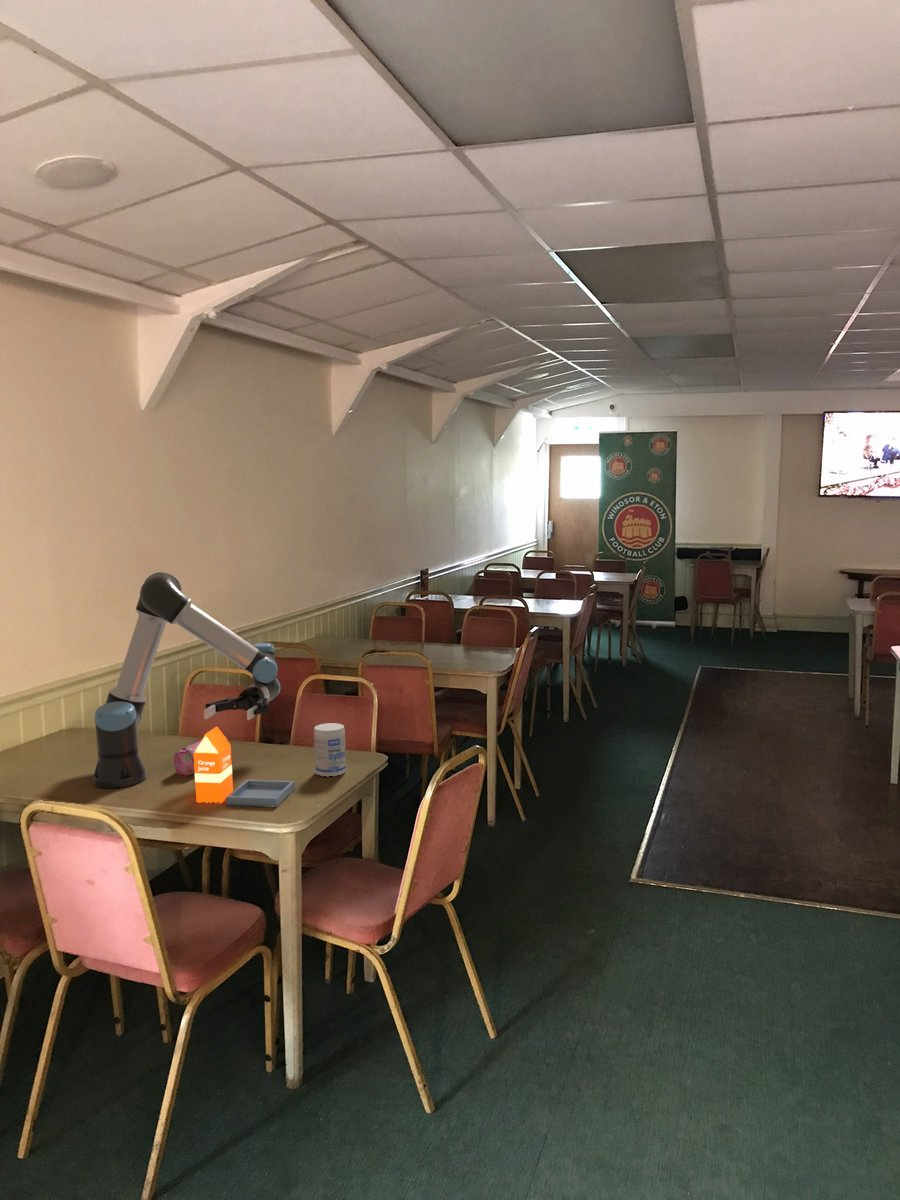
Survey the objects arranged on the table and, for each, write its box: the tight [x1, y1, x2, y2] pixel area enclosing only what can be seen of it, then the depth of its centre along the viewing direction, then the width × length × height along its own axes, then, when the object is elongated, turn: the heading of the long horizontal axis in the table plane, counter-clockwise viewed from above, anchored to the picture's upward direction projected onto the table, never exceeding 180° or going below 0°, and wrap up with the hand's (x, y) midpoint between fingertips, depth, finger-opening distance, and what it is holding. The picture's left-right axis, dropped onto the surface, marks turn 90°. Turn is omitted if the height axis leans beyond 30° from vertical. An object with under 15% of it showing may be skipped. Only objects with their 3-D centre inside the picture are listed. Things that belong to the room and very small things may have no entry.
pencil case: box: [173, 736, 229, 777], centre depth 295 cm, size 21×9×9 cm, turn 162°
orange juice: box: [194, 726, 234, 804], centre depth 265 cm, size 8×9×20 cm
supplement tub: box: [313, 722, 347, 778], centre depth 285 cm, size 10×10×15 cm
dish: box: [225, 779, 296, 808], centre depth 265 cm, size 15×15×2 cm
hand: (226, 715), depth 273 cm, fingers open, 13 cm apart
